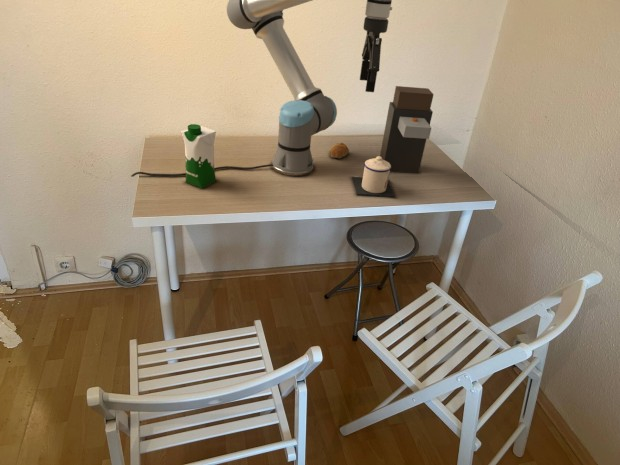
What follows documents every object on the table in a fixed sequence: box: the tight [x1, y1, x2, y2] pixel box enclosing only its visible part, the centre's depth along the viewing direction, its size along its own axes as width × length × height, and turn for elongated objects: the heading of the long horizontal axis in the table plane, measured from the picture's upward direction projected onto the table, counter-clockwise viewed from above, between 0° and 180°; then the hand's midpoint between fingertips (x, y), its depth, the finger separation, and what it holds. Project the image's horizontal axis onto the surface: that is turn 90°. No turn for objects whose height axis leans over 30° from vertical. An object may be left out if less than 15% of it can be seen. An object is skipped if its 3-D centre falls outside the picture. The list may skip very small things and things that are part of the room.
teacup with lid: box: [362, 155, 391, 193], centre depth 164 cm, size 12×9×12 cm
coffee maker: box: [379, 85, 434, 174], centre depth 171 cm, size 18×14×30 cm
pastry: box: [330, 142, 350, 159], centre depth 187 cm, size 9×7×4 cm
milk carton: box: [181, 123, 217, 189], centre depth 154 cm, size 9×9×20 cm
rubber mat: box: [352, 176, 396, 198], centre depth 167 cm, size 13×13×1 cm
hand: (366, 85), depth 160 cm, fingers open, 13 cm apart
